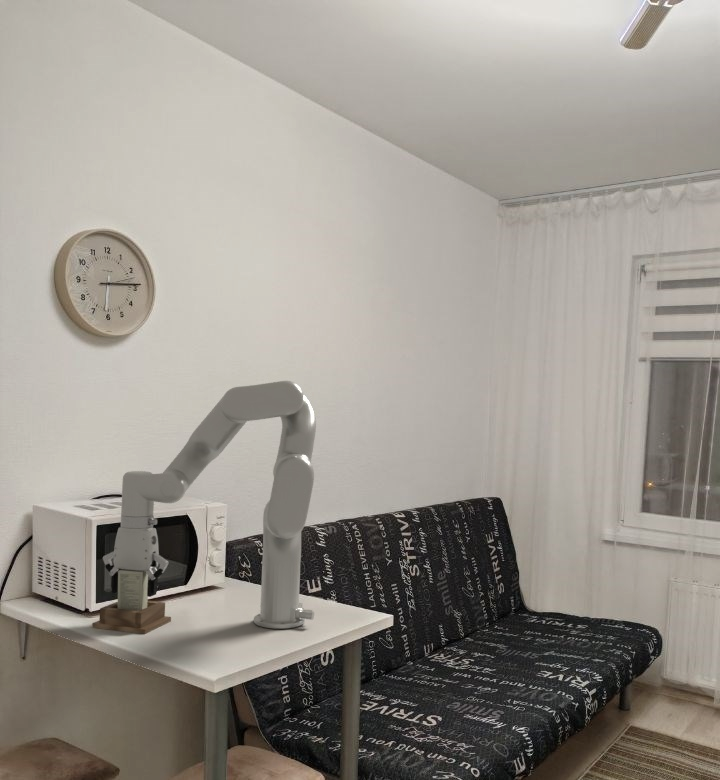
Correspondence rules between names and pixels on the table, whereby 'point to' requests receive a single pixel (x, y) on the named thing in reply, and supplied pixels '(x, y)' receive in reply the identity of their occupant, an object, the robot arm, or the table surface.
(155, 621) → the socket block
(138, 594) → the skincare box
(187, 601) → the table surface
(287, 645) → the table surface
